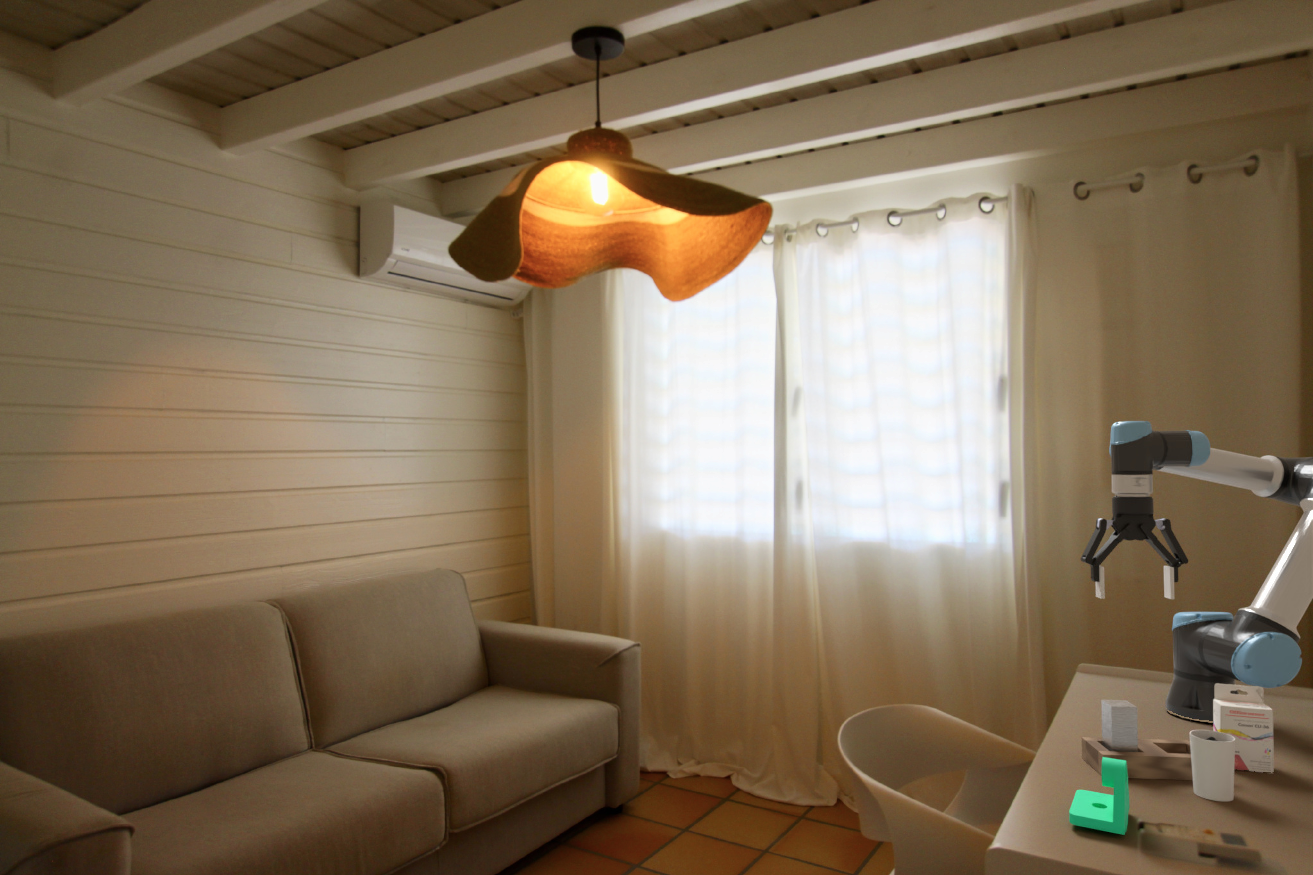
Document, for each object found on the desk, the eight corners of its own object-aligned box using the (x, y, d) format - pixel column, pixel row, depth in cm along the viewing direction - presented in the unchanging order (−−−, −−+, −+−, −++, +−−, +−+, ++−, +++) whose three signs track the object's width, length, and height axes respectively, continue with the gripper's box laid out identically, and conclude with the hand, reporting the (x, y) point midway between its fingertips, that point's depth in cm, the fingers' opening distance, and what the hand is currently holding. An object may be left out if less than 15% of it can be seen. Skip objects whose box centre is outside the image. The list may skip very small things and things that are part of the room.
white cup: (1182, 787, 150) (1180, 729, 150) (1220, 787, 150) (1219, 729, 150) (1205, 802, 143) (1204, 741, 143) (1246, 802, 143) (1244, 742, 143)
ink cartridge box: (1220, 768, 159) (1218, 688, 159) (1213, 760, 163) (1211, 682, 164) (1275, 774, 156) (1273, 692, 156) (1266, 765, 161) (1264, 685, 161)
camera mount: (1077, 804, 143) (1076, 742, 143) (1129, 814, 139) (1128, 750, 139) (1068, 830, 133) (1067, 763, 133) (1124, 842, 129) (1123, 772, 129)
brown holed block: (1192, 761, 163) (1192, 740, 163) (1221, 781, 153) (1220, 758, 153) (1081, 758, 165) (1081, 737, 165) (1103, 776, 155) (1102, 754, 155)
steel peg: (1127, 764, 161) (1126, 700, 162) (1138, 773, 157) (1137, 706, 157) (1102, 763, 162) (1101, 699, 162) (1112, 772, 157) (1111, 706, 158)
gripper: (1076, 496, 176) (1078, 600, 175) (1205, 495, 173) (1208, 601, 173) (1063, 494, 183) (1065, 594, 183) (1186, 494, 181) (1189, 595, 180)
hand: (1134, 598), depth 178 cm, fingers open, 13 cm apart
